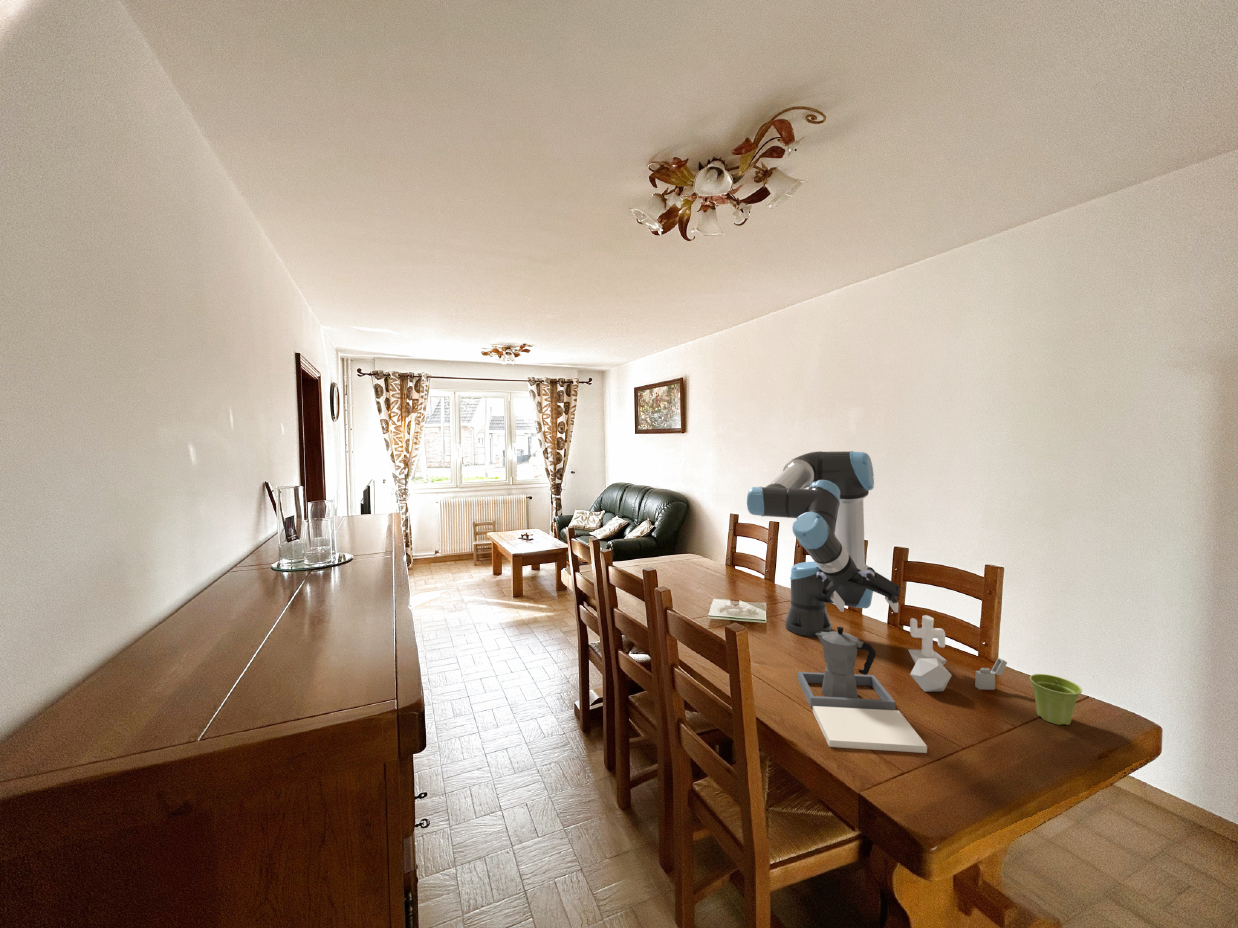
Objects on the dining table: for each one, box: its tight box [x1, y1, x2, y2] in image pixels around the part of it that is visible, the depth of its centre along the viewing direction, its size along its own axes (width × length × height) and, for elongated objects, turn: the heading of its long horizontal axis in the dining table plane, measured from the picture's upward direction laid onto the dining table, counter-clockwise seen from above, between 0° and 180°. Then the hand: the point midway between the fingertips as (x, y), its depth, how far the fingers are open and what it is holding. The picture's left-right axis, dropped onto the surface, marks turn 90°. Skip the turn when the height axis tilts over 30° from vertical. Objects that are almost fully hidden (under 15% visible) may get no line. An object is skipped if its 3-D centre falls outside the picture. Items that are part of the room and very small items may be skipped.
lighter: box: [974, 657, 1008, 691], centre depth 133 cm, size 7×2×8 cm, turn 87°
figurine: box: [908, 614, 948, 666], centre depth 146 cm, size 7×9×15 cm
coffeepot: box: [816, 626, 877, 698], centre depth 130 cm, size 15×9×18 cm, turn 43°
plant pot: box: [1029, 673, 1083, 726], centre depth 119 cm, size 9×9×9 cm
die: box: [909, 658, 952, 693], centre depth 134 cm, size 8×9×10 cm
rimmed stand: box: [797, 671, 897, 710], centre depth 131 cm, size 14×20×2 cm
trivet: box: [812, 706, 928, 754], centre depth 115 cm, size 14×20×2 cm
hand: (868, 607), depth 131 cm, fingers open, 13 cm apart
